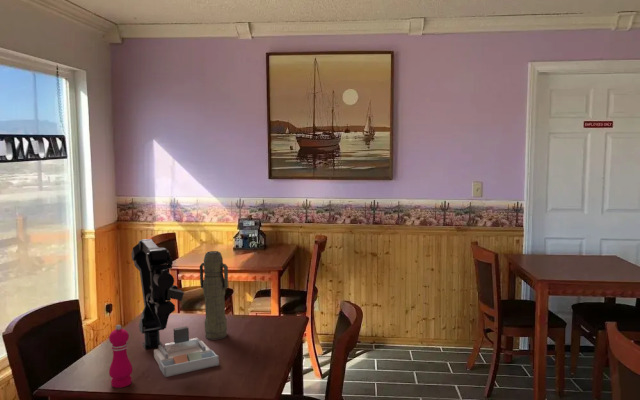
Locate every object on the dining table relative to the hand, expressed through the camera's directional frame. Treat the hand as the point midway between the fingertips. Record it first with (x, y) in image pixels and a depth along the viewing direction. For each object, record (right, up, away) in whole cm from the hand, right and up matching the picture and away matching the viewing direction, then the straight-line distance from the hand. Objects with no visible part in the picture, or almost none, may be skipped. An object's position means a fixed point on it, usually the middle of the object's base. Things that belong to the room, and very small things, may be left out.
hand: (161, 324), depth 194 cm
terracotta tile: (+9, -12, -6) cm, 16 cm away
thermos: (+15, -11, +24) cm, 31 cm away
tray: (+12, -13, -6) cm, 19 cm away
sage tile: (+13, -12, -4) cm, 18 cm away
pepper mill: (-7, -15, -19) cm, 25 cm away
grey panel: (+7, -9, +2) cm, 12 cm away
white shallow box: (+7, -13, +2) cm, 15 cm away
